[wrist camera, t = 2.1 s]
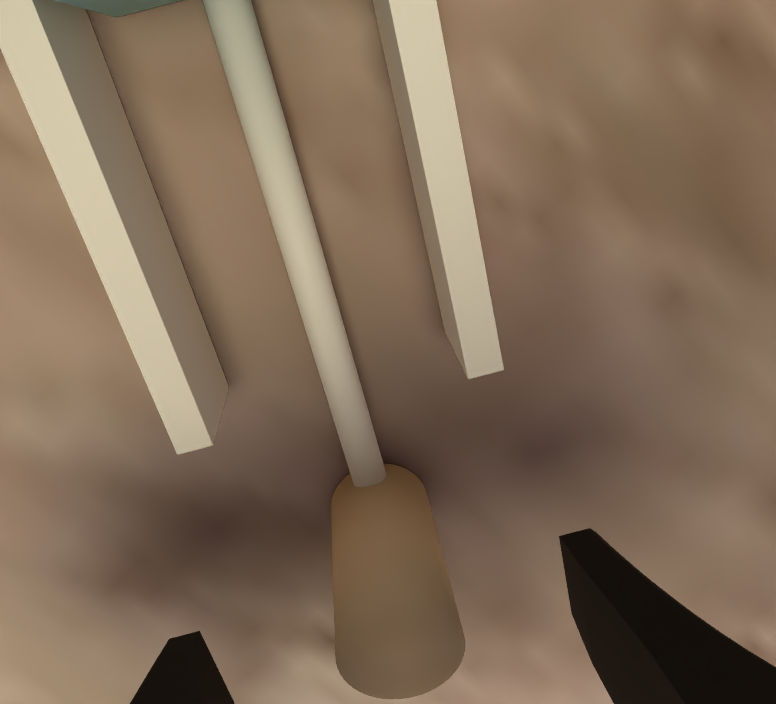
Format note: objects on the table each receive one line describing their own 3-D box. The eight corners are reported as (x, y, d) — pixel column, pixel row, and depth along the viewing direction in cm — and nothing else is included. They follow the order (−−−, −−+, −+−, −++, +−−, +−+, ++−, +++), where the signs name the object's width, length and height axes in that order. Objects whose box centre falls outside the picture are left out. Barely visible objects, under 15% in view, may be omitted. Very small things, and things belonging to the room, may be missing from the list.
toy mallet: (265, -335, 10) (231, -619, 6) (466, 523, 17) (516, 670, 13) (12, -269, 10) (-199, -505, 6) (314, 562, 17) (313, 722, 13)
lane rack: (295, -586, 9) (288, -804, 7) (475, 323, 15) (503, 369, 13) (-544, -365, 9) (-828, -510, 7) (-47, 459, 15) (-113, 529, 13)
